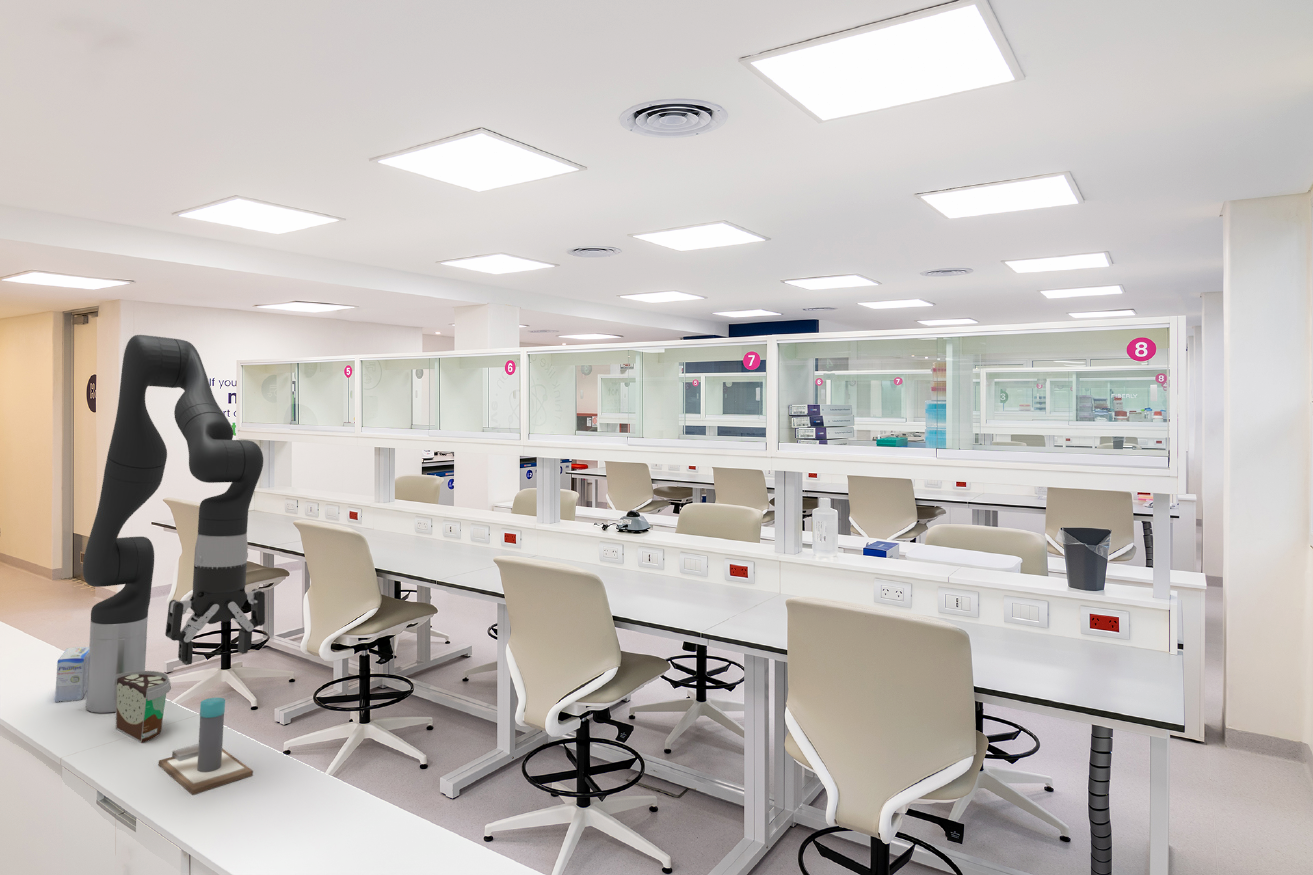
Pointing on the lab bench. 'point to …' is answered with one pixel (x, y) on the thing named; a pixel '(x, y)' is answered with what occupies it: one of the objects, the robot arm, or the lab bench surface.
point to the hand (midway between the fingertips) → (215, 657)
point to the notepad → (194, 781)
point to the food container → (141, 703)
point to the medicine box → (72, 674)
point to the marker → (211, 734)
